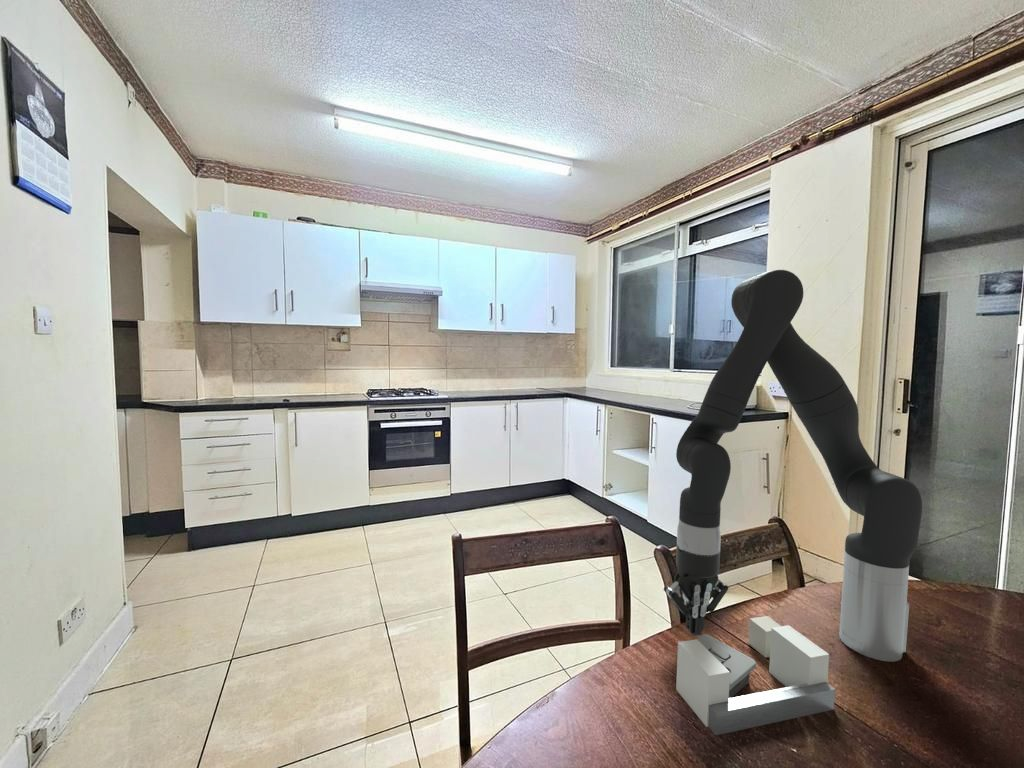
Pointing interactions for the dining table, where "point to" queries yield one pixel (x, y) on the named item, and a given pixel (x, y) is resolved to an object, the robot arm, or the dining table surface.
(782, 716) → the grey rectangular bar
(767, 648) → the block
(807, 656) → the block
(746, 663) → the electrical switch
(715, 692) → the block
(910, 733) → the dining table surface
